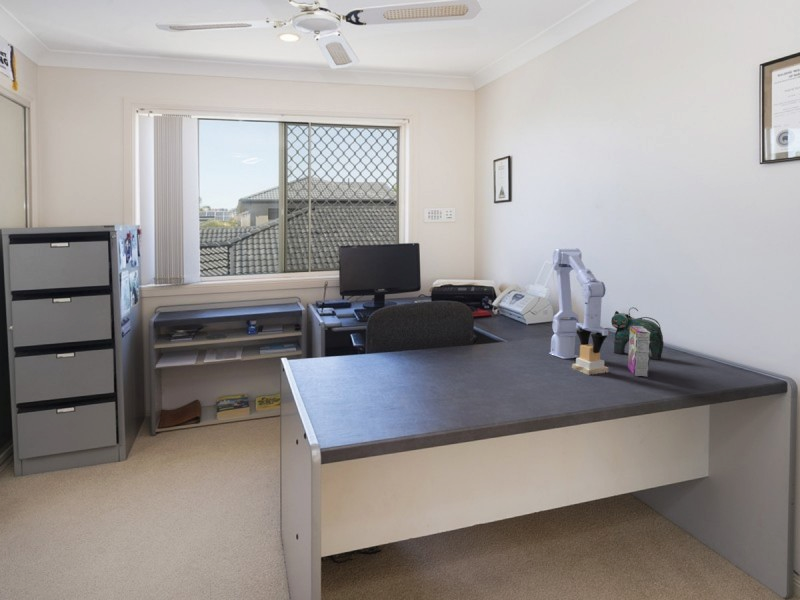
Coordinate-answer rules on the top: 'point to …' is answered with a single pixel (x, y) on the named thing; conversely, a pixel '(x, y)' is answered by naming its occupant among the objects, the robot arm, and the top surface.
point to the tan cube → (588, 353)
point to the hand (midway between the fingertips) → (590, 350)
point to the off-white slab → (590, 363)
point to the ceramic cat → (623, 330)
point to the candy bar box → (639, 351)
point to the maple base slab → (590, 371)
